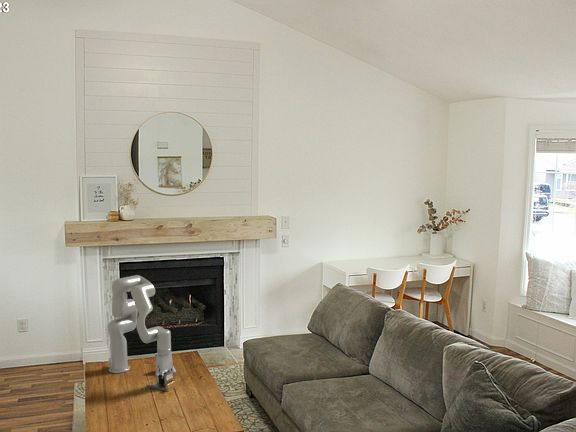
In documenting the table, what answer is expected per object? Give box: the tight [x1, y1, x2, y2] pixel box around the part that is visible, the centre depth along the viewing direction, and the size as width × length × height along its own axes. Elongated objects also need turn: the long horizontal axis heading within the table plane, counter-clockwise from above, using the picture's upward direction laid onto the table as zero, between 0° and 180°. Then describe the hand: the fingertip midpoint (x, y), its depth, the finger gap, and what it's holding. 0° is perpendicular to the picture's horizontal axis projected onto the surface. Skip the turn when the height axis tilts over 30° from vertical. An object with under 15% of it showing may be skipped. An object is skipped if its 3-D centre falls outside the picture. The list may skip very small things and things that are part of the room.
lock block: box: [156, 372, 174, 387], centre depth 321 cm, size 7×6×7 cm
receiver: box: [146, 377, 182, 393], centre depth 322 cm, size 15×14×4 cm
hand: (164, 382), depth 322 cm, fingers closed on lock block, 5 cm apart
